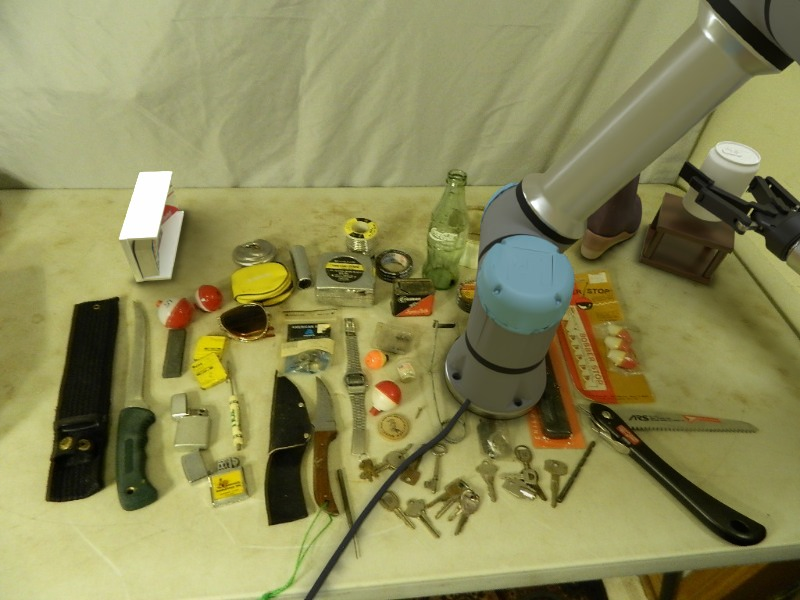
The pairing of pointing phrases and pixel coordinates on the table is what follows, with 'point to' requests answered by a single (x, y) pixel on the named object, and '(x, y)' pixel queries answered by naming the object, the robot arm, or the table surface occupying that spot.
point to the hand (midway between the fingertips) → (702, 165)
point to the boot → (613, 221)
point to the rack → (685, 242)
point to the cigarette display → (152, 227)
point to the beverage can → (725, 174)
